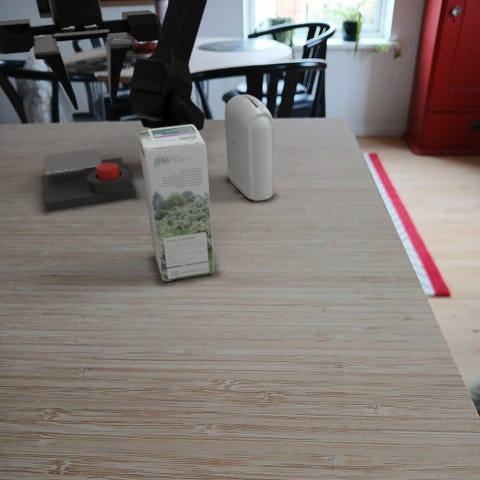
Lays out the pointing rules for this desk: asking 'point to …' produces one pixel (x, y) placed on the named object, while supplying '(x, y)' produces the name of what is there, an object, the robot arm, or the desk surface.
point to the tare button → (107, 171)
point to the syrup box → (178, 200)
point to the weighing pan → (71, 162)
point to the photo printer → (250, 146)
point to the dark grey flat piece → (87, 188)
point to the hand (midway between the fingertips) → (95, 107)
